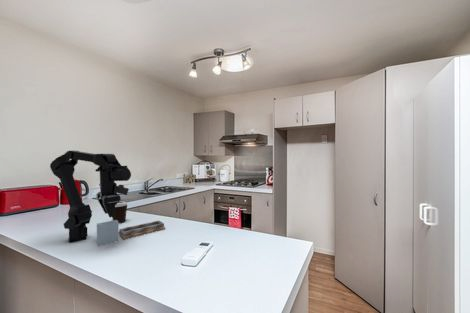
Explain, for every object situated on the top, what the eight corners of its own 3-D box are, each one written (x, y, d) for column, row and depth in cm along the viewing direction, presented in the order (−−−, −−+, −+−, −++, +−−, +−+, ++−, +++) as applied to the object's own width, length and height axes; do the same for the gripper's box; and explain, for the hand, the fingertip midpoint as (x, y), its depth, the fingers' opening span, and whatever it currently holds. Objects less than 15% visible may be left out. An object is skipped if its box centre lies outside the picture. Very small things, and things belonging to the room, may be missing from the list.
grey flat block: (98, 246, 90) (97, 225, 90) (96, 243, 92) (96, 223, 92) (118, 240, 95) (118, 221, 95) (117, 238, 98) (116, 219, 97)
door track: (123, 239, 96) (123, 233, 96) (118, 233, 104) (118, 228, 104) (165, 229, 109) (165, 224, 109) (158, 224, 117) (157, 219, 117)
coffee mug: (122, 224, 118) (122, 206, 118) (107, 224, 118) (107, 206, 118) (132, 218, 130) (132, 202, 130) (119, 218, 130) (119, 202, 130)
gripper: (132, 180, 93) (133, 215, 92) (121, 178, 106) (122, 208, 106) (103, 183, 85) (104, 221, 85) (95, 180, 99) (96, 213, 99)
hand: (108, 215), depth 94 cm, fingers open, 9 cm apart
